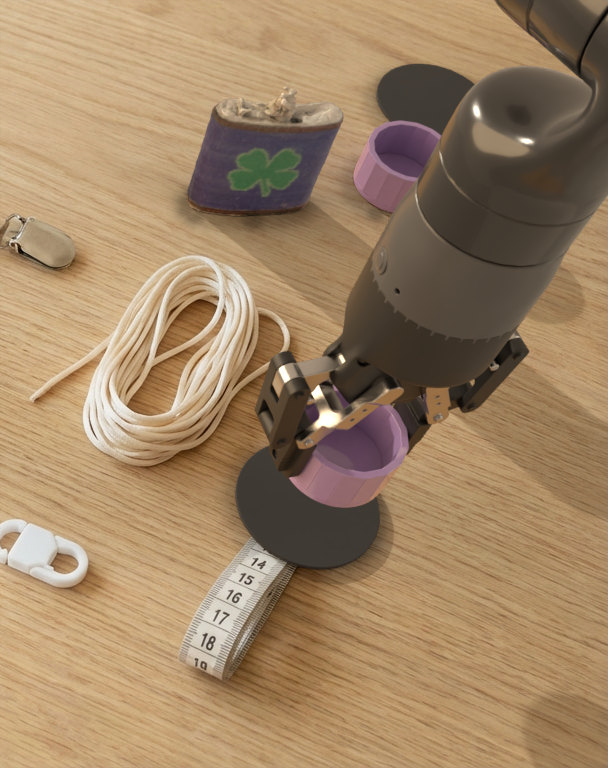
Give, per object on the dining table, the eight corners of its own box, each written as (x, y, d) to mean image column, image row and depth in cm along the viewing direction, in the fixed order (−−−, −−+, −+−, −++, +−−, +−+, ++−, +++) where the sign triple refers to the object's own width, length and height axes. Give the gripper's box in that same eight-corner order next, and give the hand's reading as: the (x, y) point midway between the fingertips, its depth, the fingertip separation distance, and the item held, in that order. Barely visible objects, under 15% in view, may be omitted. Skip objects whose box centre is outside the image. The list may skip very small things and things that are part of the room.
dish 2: (413, 148, 95) (430, 115, 92) (450, 207, 92) (470, 175, 89) (339, 160, 94) (354, 126, 91) (374, 220, 91) (391, 187, 88)
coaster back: (456, 60, 101) (458, 57, 101) (509, 135, 96) (511, 133, 96) (357, 73, 100) (359, 70, 100) (406, 151, 95) (408, 148, 95)
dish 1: (358, 408, 75) (379, 376, 72) (404, 497, 71) (427, 466, 68) (263, 426, 74) (280, 394, 71) (305, 517, 70) (324, 487, 67)
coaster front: (341, 432, 80) (343, 430, 80) (402, 554, 75) (404, 551, 75) (214, 457, 78) (215, 454, 78) (267, 582, 74) (269, 580, 73)
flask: (303, 188, 92) (350, 80, 83) (311, 217, 91) (359, 110, 82) (182, 186, 92) (216, 77, 83) (187, 216, 90) (223, 108, 81)
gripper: (348, 360, 55) (249, 532, 68) (630, 309, 57) (479, 486, 71) (283, 235, 59) (201, 422, 72) (548, 193, 61) (420, 381, 75)
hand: (339, 453), depth 72 cm, fingers closed on dish 1, 6 cm apart
